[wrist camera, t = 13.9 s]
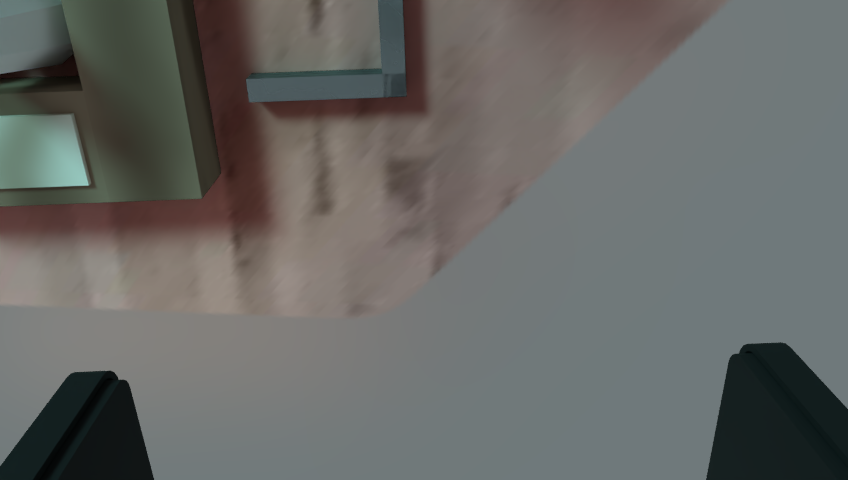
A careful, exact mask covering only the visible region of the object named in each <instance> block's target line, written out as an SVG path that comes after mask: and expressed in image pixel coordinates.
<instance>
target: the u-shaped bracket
mask: <svg viewBox="0 0 848 480" xmlns="http://www.w3.org/2000/svg"><path fill="white" fill-rule="evenodd" d="M378 7H379V25H380V42H381V60H382V69H360V70H332V71H305V72H278V73H252V74H251V75H250V76H249V77H248V78H247V79H246V83H247V90H248V97H249V102H271V101H298V100H325V99H351V98H378V97H405V96H407V95H406V69H405V45H404V21H403V0H378Z"/></svg>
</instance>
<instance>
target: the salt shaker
mask: <svg viewBox="0 0 848 480" xmlns="http://www.w3.org/2000/svg"><path fill="white" fill-rule="evenodd" d="M73 54H74V52H73V48H72V44H71V40H70V35H69V31H68V27H67V23H66V19H65V15H64V11H63V6H62V2H61V0H0V74H3V73H10V72H16V71H22V70H29V69H35V68H41V67H48V66H54V65H60V64H62V63H63V62H64V61H66V60H67V59H68V58H69V57H70V56H71V55H73Z"/></svg>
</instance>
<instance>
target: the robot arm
mask: <svg viewBox="0 0 848 480" xmlns="http://www.w3.org/2000/svg"><path fill="white" fill-rule="evenodd" d="M0 480H154V478H153V474H152V470H151V466H150V462H149V458H148V455H147V451H146V447H145V443H144V439H143V436H142V432H141V428H140V424H139V420H138V416H137V412H136V409H135V405H134V401H133V397H132V393H131V389H130V387H129V384H128V382H127V381H126V380H118V377H117V376H116V374H115V373H114V372H112V371H93V372H75V373H72V374H70V375H69V376H68V377H67V378H66V379H65V381H64V382H63V383H62V385H61V386H60V387H59V389H58V390H57V391H56V393H55V394H54V395H53V397H52V398H51V399H50V401H49V402H48V403H47V405H46V406H45V407H44V409H43V410H42V411H41V413H40V414H39V416H38V417H37V418H36V419H35V421H34V422H33V423H32V425H31V426H30V427H29V429H28V430H27V431H26V433H25V434H24V436H23V437H22V438H21V439H20V441H19V442H18V443H17V445H16V446H15V447H14V449H13V450H12V451H11V453H10V454H9V455H8V457H7V458H6V459H5V461H4V462H3V463H2V465H1V466H0ZM706 480H848V409H847V408H846V407H845V406H844V405H843V404H842V403H841V401H840V400H839V399H838V398H837V397H836V396H835V395H834V394H833V393H832V392H831V391H830V390H829V388H828V387H827V386H826V385H825V384H824V383H823V382H822V381H821V380H820V379H819V378H818V377H817V376H816V374H815V373H814V372H813V371H812V370H811V369H810V368H809V367H808V366H807V365H806V364H805V363H804V361H803V360H802V359H801V358H800V357H799V356H798V355H797V354H796V353H795V352H794V351H793V350H792V349H791V348H790V347H789V346H788V345H787V344H785V343H761V344H746V345H744V346H743V347H742V348H741V350H740V353H739V354H734V355H732V356H731V357H730V360H729V363H728V369H727V374H726V379H725V384H724V390H723V394H722V400H721V405H720V410H719V415H718V421H717V426H716V431H715V437H714V442H713V447H712V452H711V458H710V463H709V468H708V473H707V478H706Z"/></svg>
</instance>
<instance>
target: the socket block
mask: <svg viewBox="0 0 848 480" xmlns="http://www.w3.org/2000/svg"><path fill="white" fill-rule="evenodd" d="M61 2H62V6H63V11H64V15H65V19H66V23H67V27H68V31H69V35H70V40H71V44H72V48H73V52H74V56H75V60H76V64H77V68H78V73H79V76H63V77H36V78H9V79H0V206H25V205H51V204H77V203H102V202H128V201H154V200H179V199H202V198H203V197H204V195H205V194H206V193H207V191H208V190H209V188H210V187H211V186H212V184H213V183H214V182H215V180H216V179H217V178H218V176H219V175H220V174H221V170H220V164H219V158H218V152H217V146H216V140H215V134H214V128H213V122H212V116H211V110H210V103H209V97H208V91H207V85H206V79H205V73H204V67H203V61H202V55H201V49H200V43H199V37H198V31H197V25H196V19H195V12H194V6H193V0H61Z"/></svg>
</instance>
